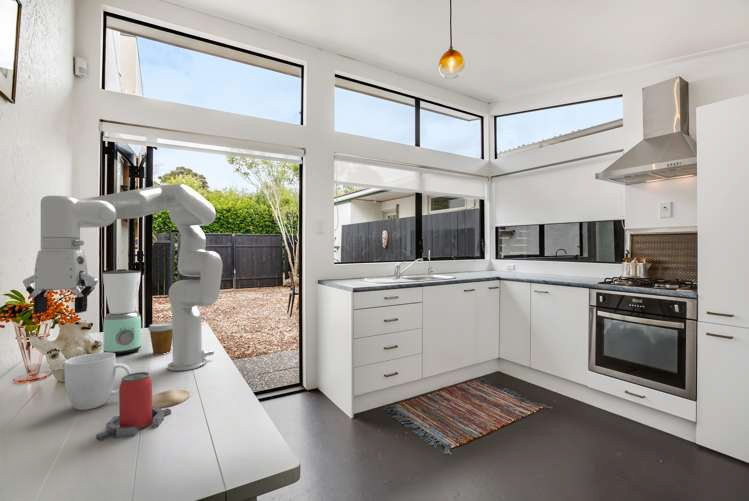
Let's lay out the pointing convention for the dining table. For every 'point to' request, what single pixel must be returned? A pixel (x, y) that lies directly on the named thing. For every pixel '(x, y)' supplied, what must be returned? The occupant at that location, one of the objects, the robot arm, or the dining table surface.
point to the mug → (91, 379)
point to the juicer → (122, 312)
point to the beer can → (135, 400)
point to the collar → (130, 430)
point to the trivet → (169, 398)
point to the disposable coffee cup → (161, 337)
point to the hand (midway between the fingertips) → (60, 312)
